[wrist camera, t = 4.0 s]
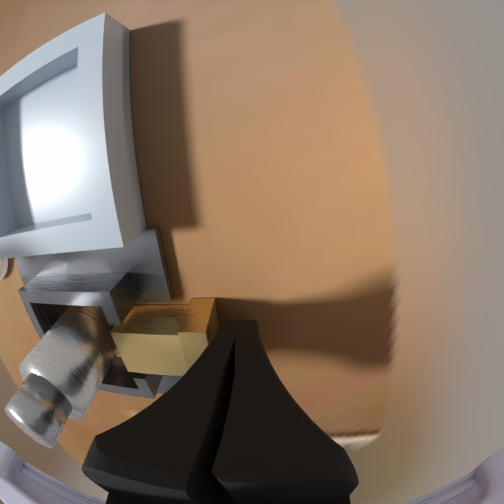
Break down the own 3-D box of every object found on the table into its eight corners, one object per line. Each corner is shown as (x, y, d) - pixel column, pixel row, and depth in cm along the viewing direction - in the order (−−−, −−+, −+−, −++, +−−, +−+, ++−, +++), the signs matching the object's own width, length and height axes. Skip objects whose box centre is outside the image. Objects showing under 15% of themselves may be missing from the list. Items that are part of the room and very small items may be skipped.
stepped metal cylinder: (135, 349, 12) (80, 465, 6) (87, 344, 12) (27, 439, 6) (114, 295, 11) (28, 414, 4) (65, 294, 11) (-18, 387, 5)
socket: (201, 390, 13) (195, 419, 11) (73, 373, 14) (60, 394, 12) (159, 226, 10) (137, 245, 8) (16, 245, 10) (-8, 260, 8)
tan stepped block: (224, 349, 12) (218, 385, 10) (144, 347, 12) (129, 379, 10) (214, 297, 11) (205, 332, 9) (126, 299, 11) (105, 329, 9)
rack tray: (146, 227, 10) (123, 247, 8) (20, 244, 10) (-4, 259, 8) (129, 29, 7) (105, 12, 5) (3, 97, 7) (-24, 98, 5)
